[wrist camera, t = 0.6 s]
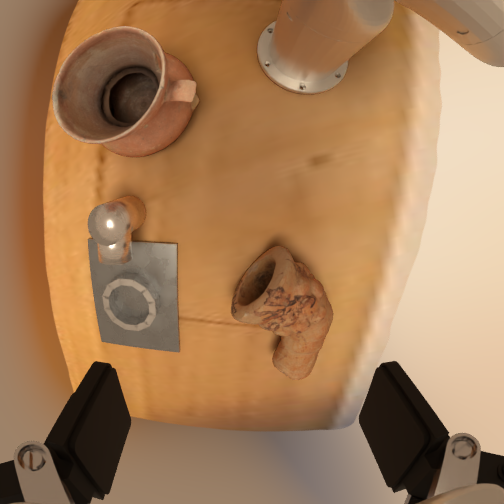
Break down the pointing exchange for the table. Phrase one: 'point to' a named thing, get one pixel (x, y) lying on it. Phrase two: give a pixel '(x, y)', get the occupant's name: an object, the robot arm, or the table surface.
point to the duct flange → (138, 296)
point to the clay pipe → (285, 309)
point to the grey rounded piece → (116, 228)
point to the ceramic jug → (124, 93)
